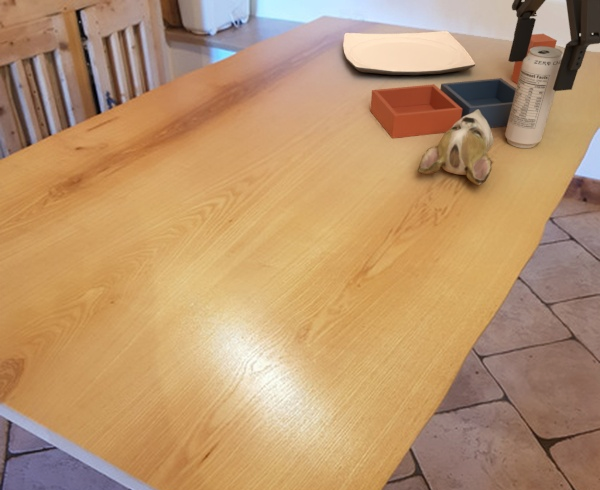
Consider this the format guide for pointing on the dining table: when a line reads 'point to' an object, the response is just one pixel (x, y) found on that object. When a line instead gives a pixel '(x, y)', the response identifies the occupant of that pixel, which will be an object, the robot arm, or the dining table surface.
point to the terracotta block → (534, 42)
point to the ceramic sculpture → (462, 150)
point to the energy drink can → (533, 97)
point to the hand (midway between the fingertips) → (538, 74)
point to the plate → (406, 53)
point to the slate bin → (483, 98)
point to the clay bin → (414, 110)
